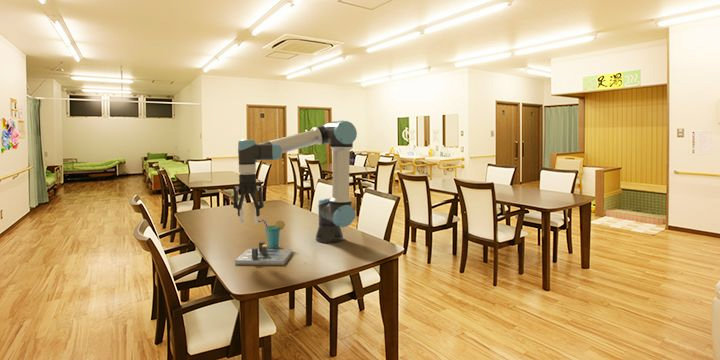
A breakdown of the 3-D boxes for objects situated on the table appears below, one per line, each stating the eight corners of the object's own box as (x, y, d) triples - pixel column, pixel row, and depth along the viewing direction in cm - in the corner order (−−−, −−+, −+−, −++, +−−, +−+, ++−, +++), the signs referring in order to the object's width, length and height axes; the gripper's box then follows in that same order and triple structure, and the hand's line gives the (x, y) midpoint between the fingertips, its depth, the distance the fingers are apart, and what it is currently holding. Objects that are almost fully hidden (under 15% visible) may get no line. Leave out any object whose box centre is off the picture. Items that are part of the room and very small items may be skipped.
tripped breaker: (267, 252, 187) (267, 244, 187) (266, 254, 185) (266, 246, 184) (263, 252, 187) (263, 244, 187) (262, 254, 185) (261, 246, 184)
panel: (292, 253, 195) (292, 240, 194) (283, 265, 177) (283, 251, 176) (248, 252, 196) (247, 240, 195) (235, 264, 178) (234, 250, 177)
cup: (258, 250, 199) (257, 221, 197) (256, 247, 206) (255, 218, 205) (286, 248, 204) (285, 219, 203) (283, 244, 211) (282, 216, 210)
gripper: (270, 172, 186) (271, 221, 188) (230, 172, 186) (231, 221, 189) (265, 174, 178) (267, 225, 181) (223, 174, 179) (225, 224, 181)
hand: (249, 223), depth 185 cm, fingers open, 6 cm apart
